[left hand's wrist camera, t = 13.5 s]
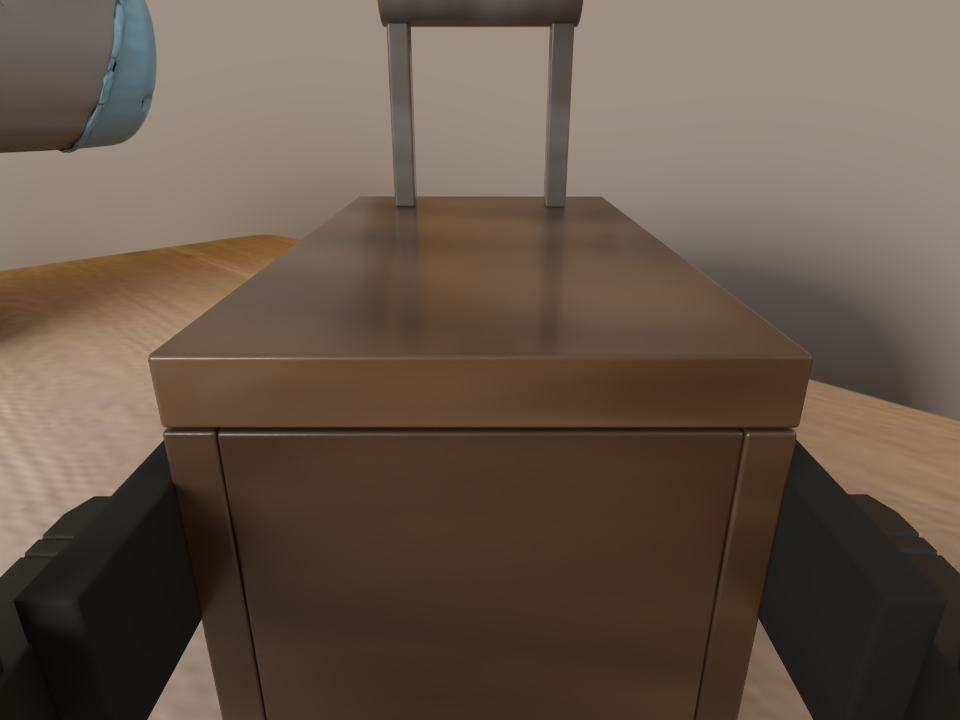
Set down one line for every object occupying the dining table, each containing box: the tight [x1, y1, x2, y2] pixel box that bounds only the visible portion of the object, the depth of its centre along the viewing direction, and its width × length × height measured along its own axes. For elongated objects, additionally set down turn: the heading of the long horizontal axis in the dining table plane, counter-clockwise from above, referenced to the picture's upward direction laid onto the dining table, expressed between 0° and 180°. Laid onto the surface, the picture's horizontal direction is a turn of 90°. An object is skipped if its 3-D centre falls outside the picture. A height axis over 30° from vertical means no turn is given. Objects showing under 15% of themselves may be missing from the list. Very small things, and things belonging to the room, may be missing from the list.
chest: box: [163, 427, 796, 720], centre depth 19 cm, size 16×10×9 cm, turn 0°
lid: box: [148, 0, 813, 428], centre depth 16 cm, size 17×10×9 cm, turn 0°
